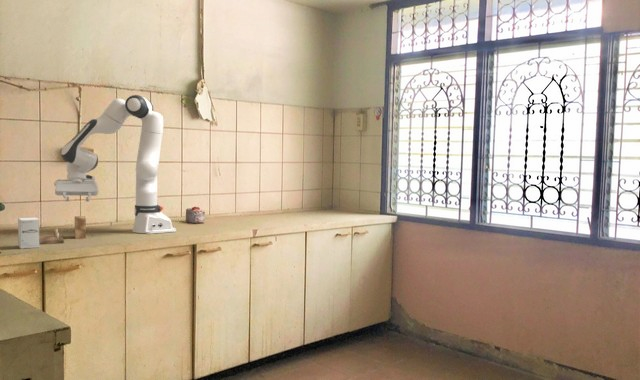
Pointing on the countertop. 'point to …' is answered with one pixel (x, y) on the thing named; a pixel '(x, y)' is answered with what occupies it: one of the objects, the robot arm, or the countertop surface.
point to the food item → (195, 215)
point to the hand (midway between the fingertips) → (77, 200)
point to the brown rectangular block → (80, 227)
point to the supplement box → (28, 233)
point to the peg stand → (51, 238)
